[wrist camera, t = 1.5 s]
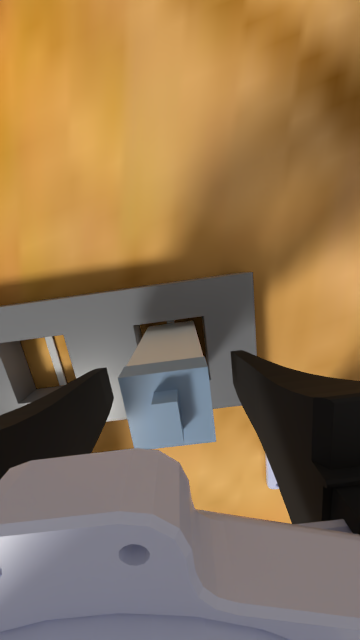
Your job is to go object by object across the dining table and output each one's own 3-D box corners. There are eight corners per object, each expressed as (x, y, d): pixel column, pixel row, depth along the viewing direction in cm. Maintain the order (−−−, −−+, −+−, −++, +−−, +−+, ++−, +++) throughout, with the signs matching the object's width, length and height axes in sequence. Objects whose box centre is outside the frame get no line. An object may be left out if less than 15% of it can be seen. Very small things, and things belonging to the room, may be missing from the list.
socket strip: (243, 272, 15) (252, 272, 13) (250, 388, 17) (258, 403, 15) (-36, 310, 16) (-67, 316, 14) (7, 418, 18) (-14, 435, 16)
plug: (193, 319, 16) (210, 376, 7) (198, 362, 17) (219, 457, 8) (147, 325, 16) (111, 389, 7) (155, 367, 17) (130, 467, 8)
